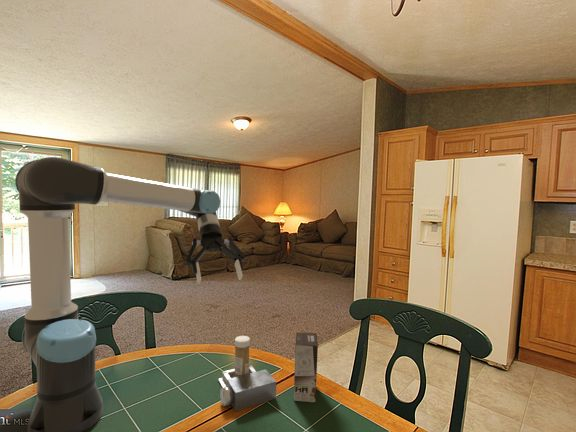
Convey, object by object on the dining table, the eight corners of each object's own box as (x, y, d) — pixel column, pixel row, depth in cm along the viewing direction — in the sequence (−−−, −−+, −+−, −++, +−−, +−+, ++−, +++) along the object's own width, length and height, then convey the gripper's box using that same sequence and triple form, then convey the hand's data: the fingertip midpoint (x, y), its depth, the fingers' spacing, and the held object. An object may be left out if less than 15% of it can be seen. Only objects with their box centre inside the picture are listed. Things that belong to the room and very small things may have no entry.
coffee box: (316, 402, 87) (318, 346, 86) (293, 401, 87) (294, 344, 86) (315, 383, 96) (317, 332, 95) (294, 382, 96) (296, 331, 95)
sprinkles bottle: (251, 383, 94) (252, 339, 93) (237, 387, 91) (238, 343, 91) (245, 375, 98) (246, 333, 97) (231, 380, 95) (232, 337, 95)
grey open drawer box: (226, 414, 81) (226, 395, 81) (210, 382, 95) (210, 366, 94) (275, 398, 88) (276, 381, 88) (254, 371, 102) (254, 356, 101)
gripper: (239, 235, 122) (253, 282, 109) (172, 236, 110) (179, 290, 97) (244, 222, 117) (259, 270, 104) (174, 222, 105) (182, 277, 92)
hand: (220, 280), depth 101 cm, fingers open, 13 cm apart
